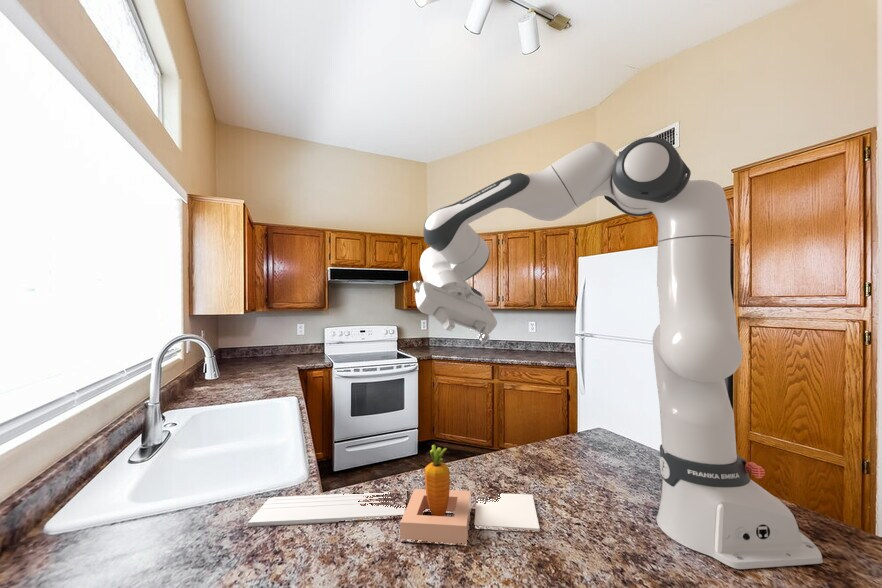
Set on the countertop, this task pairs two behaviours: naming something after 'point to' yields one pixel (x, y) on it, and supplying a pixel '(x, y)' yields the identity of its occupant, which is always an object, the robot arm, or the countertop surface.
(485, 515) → the plate
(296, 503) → the baseboard molding
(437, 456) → the carrot
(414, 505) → the holder ring
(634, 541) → the countertop surface
